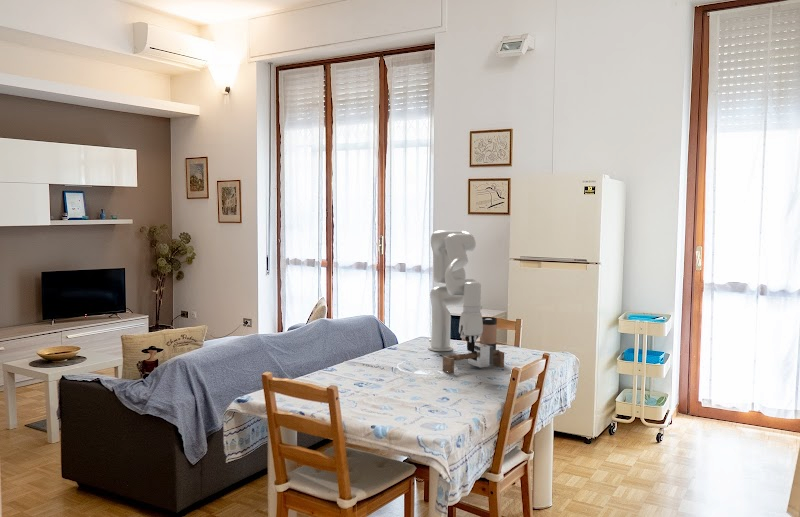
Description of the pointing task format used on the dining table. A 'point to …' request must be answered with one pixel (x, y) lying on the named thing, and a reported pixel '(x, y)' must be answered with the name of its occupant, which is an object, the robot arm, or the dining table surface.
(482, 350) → the sleeve
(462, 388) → the dining table surface
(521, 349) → the dining table surface
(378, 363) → the dining table surface
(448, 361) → the dowel rail
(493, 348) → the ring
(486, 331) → the travel mug
